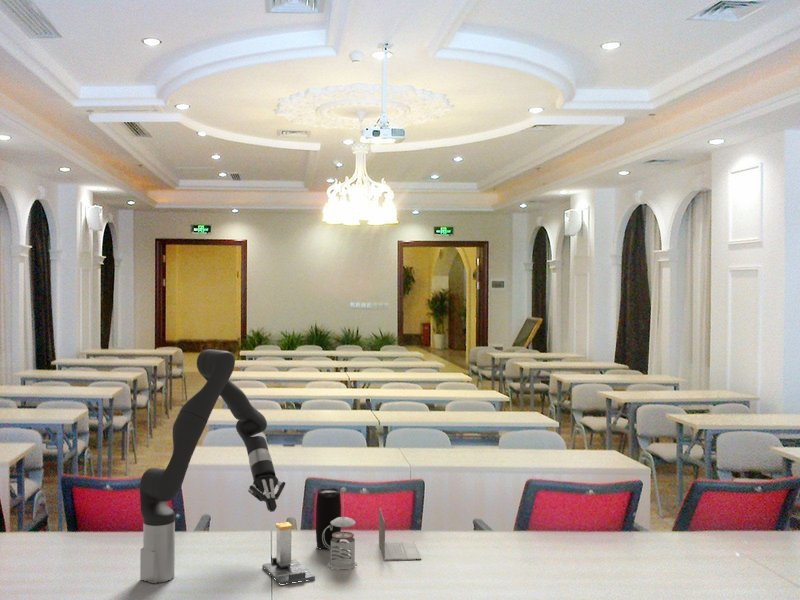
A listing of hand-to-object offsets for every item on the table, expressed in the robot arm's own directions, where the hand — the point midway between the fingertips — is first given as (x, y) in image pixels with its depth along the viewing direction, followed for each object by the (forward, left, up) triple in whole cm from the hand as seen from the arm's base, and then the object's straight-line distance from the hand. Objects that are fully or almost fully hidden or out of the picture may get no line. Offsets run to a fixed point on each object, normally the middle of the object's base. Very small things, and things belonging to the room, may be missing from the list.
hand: (272, 510), depth 272 cm
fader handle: (-6, -10, -14) cm, 18 cm away
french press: (+8, -21, -16) cm, 28 cm away
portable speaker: (+20, -7, -16) cm, 27 cm away
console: (-8, -13, -16) cm, 22 cm away
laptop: (+30, -30, -16) cm, 45 cm away
